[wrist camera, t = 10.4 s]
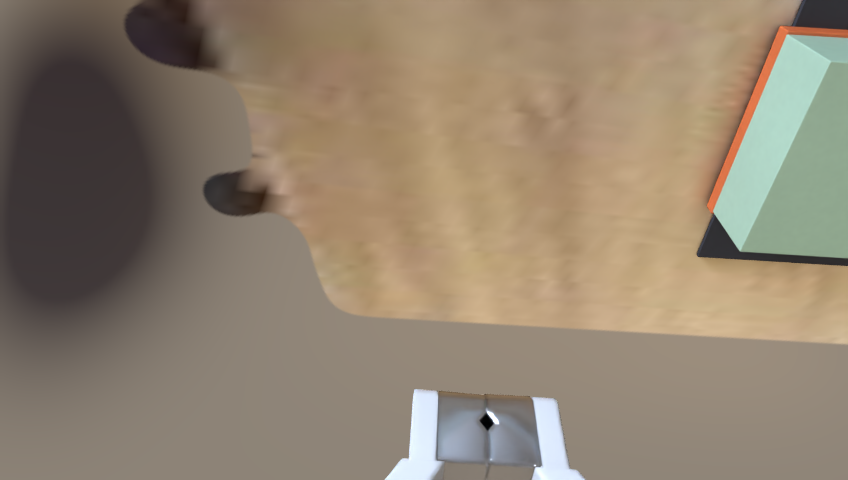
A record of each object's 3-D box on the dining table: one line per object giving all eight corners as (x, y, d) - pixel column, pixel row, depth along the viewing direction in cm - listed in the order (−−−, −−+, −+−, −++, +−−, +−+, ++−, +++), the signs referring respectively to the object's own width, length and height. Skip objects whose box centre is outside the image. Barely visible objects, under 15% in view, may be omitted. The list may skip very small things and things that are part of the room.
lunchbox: (736, 259, 36) (874, 268, 36) (836, 48, 28) (1013, 59, 28) (704, 211, 40) (826, 218, 40) (782, 18, 32) (934, 27, 32)
